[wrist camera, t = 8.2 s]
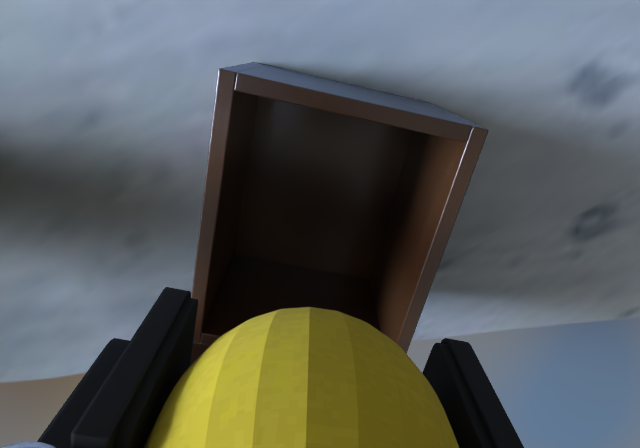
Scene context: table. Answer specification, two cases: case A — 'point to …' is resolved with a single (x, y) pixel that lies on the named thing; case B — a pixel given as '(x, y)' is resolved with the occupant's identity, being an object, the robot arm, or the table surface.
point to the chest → (325, 200)
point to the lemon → (303, 389)
